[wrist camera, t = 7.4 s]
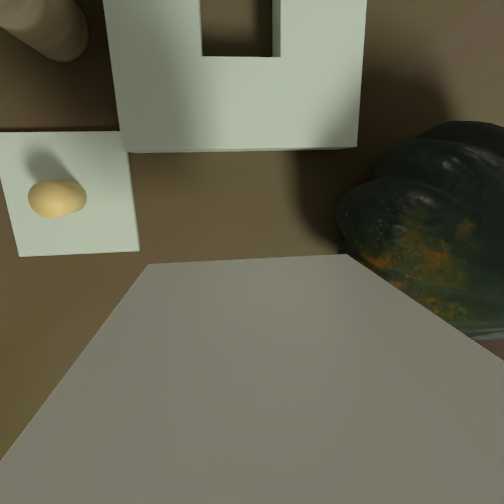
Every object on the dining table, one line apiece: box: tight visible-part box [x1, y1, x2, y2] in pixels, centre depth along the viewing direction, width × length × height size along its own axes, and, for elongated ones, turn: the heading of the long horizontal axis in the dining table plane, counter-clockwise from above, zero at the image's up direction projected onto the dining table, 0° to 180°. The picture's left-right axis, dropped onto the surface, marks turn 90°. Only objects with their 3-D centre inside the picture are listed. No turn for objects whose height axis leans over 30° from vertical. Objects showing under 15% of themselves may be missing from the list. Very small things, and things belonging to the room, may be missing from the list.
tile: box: [0, 131, 140, 257], centre depth 21 cm, size 9×9×3 cm
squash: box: [335, 121, 504, 340], centre depth 21 cm, size 14×15×15 cm
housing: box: [0, 254, 504, 504], centre depth 7 cm, size 7×7×9 cm
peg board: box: [103, 0, 367, 153], centre depth 20 cm, size 16×16×3 cm
